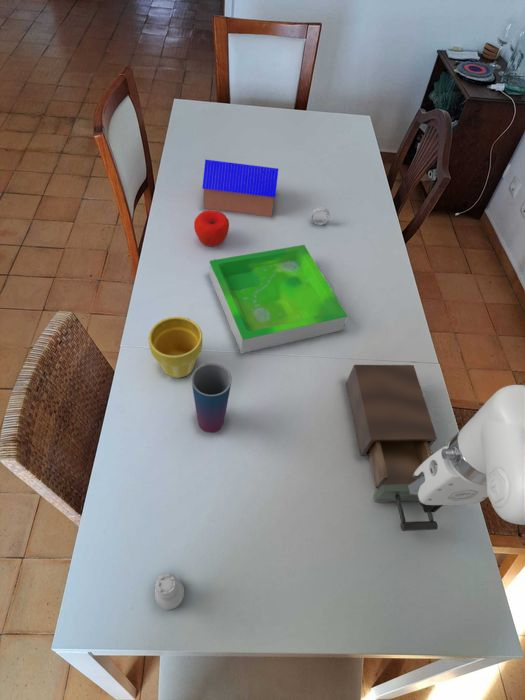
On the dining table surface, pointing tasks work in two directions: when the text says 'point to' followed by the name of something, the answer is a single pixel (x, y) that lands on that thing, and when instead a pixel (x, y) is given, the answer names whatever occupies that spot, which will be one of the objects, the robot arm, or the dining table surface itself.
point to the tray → (275, 298)
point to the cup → (211, 395)
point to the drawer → (399, 475)
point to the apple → (211, 227)
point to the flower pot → (176, 345)
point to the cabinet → (388, 405)
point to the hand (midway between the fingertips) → (426, 503)
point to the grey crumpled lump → (318, 211)
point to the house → (239, 187)
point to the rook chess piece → (168, 591)
